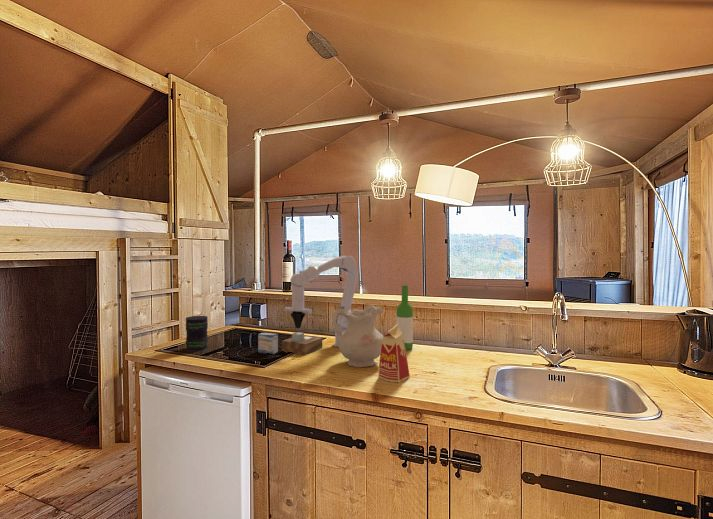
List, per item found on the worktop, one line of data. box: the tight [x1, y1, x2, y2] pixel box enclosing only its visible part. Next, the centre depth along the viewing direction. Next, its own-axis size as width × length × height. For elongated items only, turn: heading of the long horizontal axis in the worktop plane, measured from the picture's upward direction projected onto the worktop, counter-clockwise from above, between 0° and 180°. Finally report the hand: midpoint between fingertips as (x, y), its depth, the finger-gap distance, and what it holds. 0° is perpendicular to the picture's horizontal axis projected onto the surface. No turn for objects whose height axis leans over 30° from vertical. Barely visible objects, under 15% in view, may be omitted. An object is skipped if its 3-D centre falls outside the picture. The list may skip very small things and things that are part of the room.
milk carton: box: [377, 323, 411, 384], centre depth 150 cm, size 9×9×20 cm
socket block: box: [281, 334, 323, 356], centre depth 190 cm, size 13×14×5 cm
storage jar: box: [185, 315, 209, 352], centre depth 192 cm, size 10×10×15 cm
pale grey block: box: [291, 331, 305, 343], centre depth 187 cm, size 4×4×5 cm
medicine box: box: [257, 332, 279, 355], centre depth 186 cm, size 8×4×9 cm, turn 73°
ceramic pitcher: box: [332, 304, 384, 369], centre depth 168 cm, size 22×20×25 cm
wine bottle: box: [396, 285, 414, 351], centre depth 192 cm, size 8×8×30 cm
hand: (298, 327), depth 190 cm, fingers closed
